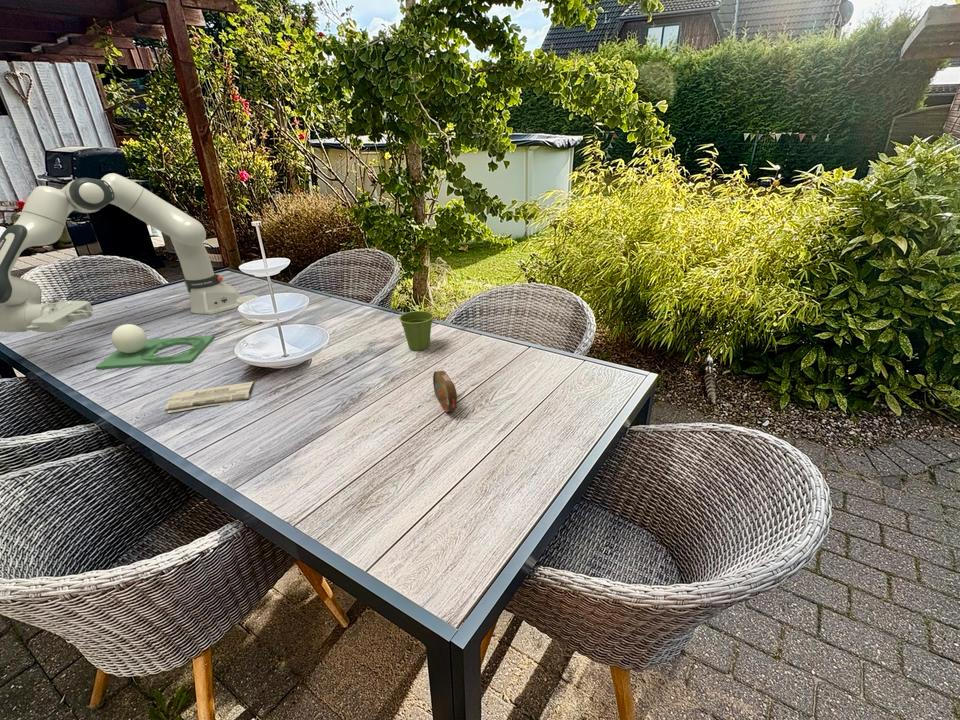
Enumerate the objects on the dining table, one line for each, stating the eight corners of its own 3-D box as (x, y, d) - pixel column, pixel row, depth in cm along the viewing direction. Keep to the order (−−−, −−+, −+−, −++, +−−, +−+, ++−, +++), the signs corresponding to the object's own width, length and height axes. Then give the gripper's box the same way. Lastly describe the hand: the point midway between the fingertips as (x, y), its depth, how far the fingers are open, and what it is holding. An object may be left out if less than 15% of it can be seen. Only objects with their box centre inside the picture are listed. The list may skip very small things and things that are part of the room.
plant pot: (438, 339, 173) (436, 310, 168) (432, 354, 163) (430, 323, 158) (406, 339, 175) (403, 310, 170) (398, 353, 164) (394, 322, 159)
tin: (433, 392, 140) (430, 366, 137) (443, 389, 141) (441, 364, 138) (448, 418, 128) (446, 391, 124) (459, 416, 129) (458, 388, 125)
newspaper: (164, 417, 133) (161, 409, 132) (178, 399, 144) (175, 391, 143) (251, 403, 138) (249, 395, 137) (258, 387, 149) (257, 379, 148)
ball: (150, 343, 175) (140, 317, 170) (151, 352, 167) (142, 326, 163) (117, 350, 170) (106, 324, 165) (117, 360, 162) (106, 333, 158)
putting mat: (96, 369, 159) (95, 366, 159) (130, 343, 178) (129, 340, 177) (191, 362, 162) (190, 360, 161) (214, 337, 181) (214, 335, 180)
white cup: (267, 318, 197) (262, 295, 192) (257, 326, 190) (251, 302, 185) (249, 318, 198) (243, 295, 193) (238, 325, 191) (232, 301, 186)
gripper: (17, 319, 149) (65, 317, 151) (61, 298, 167) (103, 296, 169) (26, 338, 152) (73, 335, 153) (68, 315, 170) (110, 313, 172)
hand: (89, 314), depth 161 cm, fingers closed
